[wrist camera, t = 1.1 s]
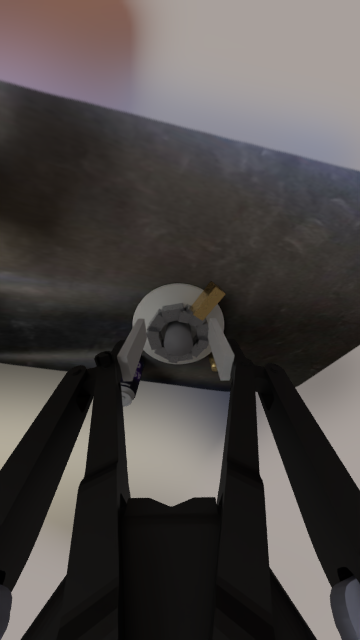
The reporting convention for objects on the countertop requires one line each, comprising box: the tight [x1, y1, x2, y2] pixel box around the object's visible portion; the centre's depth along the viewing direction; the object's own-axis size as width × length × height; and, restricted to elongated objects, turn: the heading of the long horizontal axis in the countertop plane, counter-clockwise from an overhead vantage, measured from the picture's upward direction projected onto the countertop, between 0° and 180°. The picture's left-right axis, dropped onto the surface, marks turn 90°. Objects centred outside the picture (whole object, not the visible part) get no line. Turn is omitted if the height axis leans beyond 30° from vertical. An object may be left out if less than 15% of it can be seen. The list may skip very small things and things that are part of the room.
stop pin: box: [208, 352, 218, 371], centre depth 39 cm, size 2×2×5 cm
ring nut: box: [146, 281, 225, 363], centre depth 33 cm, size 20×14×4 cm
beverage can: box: [120, 357, 145, 406], centre depth 37 cm, size 6×6×12 cm
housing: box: [133, 283, 224, 364], centre depth 34 cm, size 22×22×8 cm
